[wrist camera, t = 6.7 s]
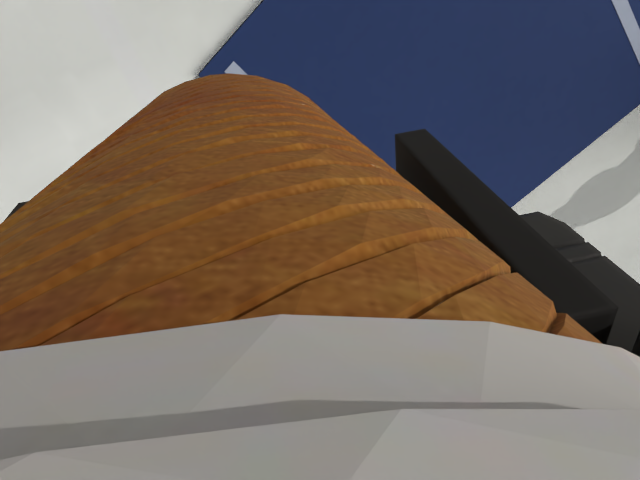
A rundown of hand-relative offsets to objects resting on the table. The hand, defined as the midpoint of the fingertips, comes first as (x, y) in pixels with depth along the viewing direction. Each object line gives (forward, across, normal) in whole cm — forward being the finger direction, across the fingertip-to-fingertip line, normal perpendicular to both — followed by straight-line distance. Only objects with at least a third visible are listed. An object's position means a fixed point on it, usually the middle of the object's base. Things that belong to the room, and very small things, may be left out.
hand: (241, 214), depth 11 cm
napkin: (+15, +12, -2) cm, 19 cm away
